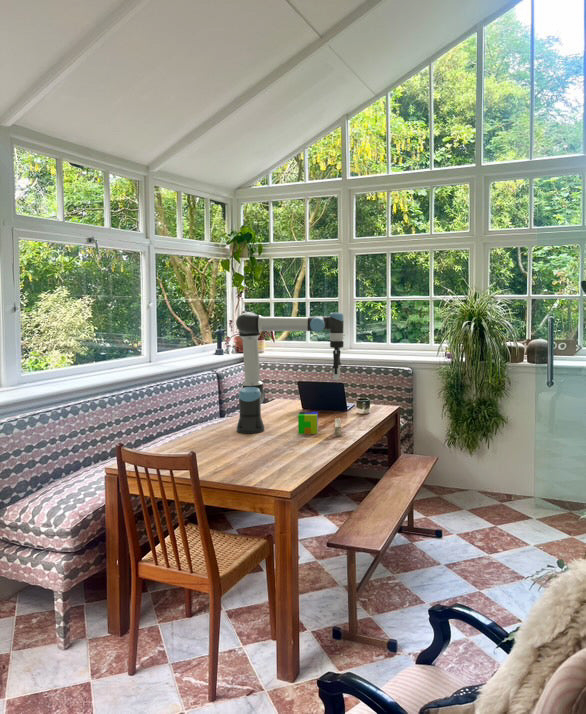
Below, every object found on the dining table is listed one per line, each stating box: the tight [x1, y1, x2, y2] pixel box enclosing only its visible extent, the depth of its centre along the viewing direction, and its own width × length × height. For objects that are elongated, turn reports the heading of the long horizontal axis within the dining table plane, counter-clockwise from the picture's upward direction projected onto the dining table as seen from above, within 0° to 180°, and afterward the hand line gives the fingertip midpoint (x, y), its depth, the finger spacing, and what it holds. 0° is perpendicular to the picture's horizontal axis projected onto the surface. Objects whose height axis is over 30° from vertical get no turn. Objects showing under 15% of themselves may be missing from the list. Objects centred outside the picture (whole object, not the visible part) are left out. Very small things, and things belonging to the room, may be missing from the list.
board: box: [334, 417, 342, 437], centre depth 337 cm, size 3×22×5 cm, turn 176°
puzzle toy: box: [297, 411, 319, 435], centre depth 338 cm, size 10×10×10 cm
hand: (336, 378), depth 349 cm, fingers open, 13 cm apart
